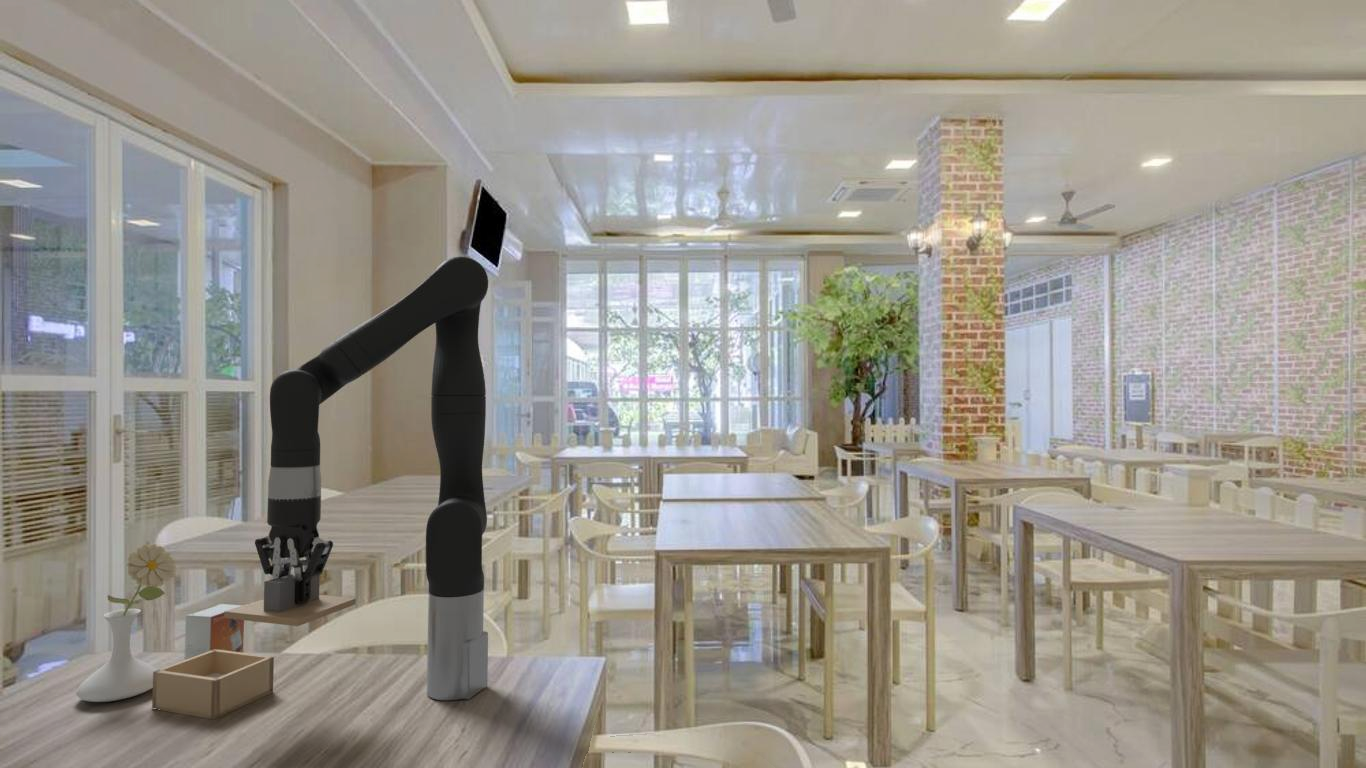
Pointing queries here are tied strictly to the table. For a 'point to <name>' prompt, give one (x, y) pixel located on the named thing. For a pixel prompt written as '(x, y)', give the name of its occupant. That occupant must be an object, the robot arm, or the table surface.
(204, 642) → the small box
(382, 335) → the robot arm
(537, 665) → the table surface
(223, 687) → the box
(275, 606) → the mailer lid
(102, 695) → the flower in vase
